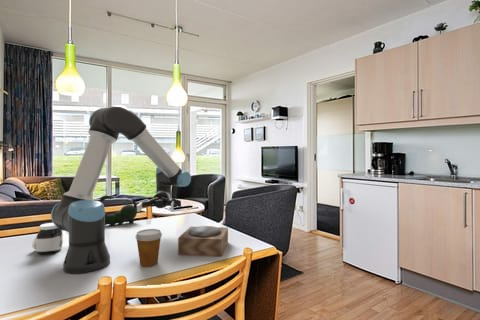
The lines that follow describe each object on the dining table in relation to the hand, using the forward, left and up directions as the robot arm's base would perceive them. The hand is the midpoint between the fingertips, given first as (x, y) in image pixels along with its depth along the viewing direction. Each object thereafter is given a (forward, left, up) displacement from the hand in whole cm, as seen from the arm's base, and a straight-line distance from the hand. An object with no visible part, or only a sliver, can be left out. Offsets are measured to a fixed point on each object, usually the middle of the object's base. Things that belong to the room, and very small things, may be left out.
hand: (155, 208), depth 113 cm
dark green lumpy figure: (-41, +45, -19) cm, 64 cm away
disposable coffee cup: (+2, -10, -19) cm, 22 cm away
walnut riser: (+19, +9, -19) cm, 28 cm away
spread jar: (-47, -2, -19) cm, 51 cm away
